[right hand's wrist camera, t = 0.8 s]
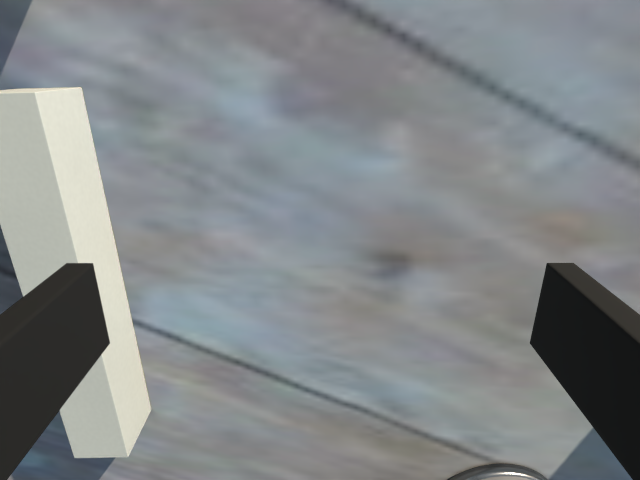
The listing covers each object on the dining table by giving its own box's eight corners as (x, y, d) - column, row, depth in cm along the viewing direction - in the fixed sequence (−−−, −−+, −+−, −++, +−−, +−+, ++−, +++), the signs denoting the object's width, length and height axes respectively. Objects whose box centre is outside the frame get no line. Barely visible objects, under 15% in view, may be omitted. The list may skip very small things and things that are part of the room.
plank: (151, 409, 46) (128, 457, 40) (104, 410, 46) (74, 458, 40) (81, 87, 34) (34, 92, 28) (17, 88, 34) (-42, 93, 28)
